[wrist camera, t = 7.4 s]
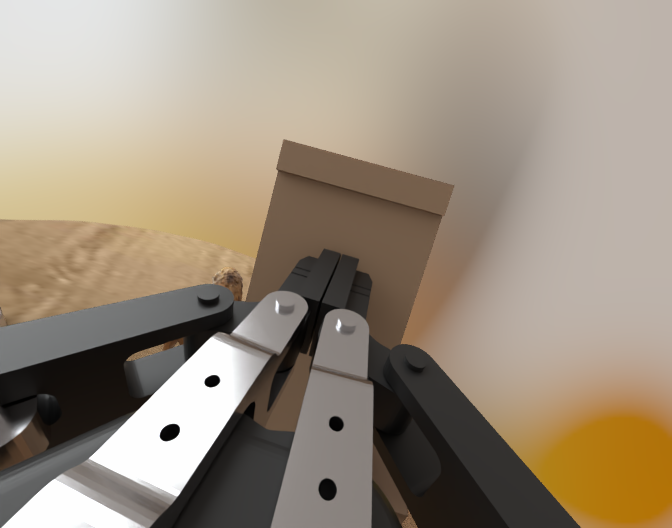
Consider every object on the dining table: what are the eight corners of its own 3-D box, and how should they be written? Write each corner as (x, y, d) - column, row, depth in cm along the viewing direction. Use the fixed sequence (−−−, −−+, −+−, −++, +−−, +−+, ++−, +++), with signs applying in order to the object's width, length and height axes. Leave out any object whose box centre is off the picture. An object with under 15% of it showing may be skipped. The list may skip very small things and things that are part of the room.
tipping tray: (353, 527, 13) (467, 189, 11) (190, 470, 13) (271, 136, 11) (357, 382, 26) (410, 213, 24) (274, 355, 26) (319, 188, 24)
